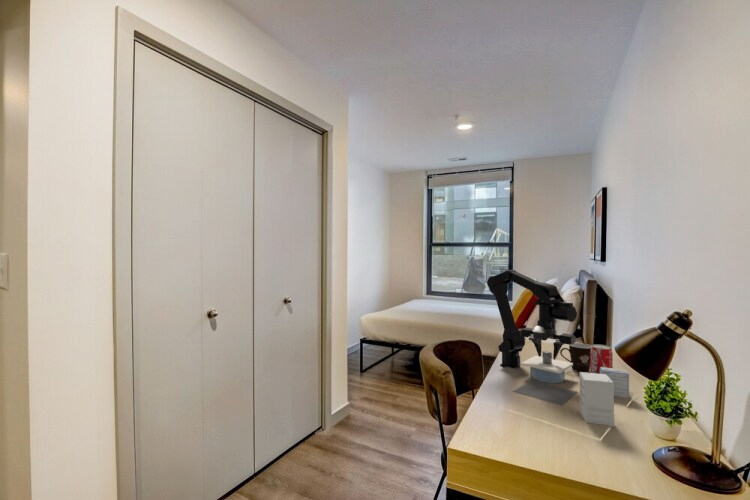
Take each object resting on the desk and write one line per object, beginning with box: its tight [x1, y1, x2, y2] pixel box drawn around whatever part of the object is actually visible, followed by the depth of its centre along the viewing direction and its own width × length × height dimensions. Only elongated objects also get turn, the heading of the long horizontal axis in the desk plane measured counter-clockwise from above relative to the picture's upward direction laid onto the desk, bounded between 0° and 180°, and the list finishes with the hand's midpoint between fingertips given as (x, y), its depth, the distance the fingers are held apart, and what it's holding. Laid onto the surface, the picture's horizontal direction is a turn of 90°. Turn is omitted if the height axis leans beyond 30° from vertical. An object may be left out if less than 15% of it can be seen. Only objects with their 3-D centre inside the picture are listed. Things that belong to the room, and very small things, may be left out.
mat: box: [512, 379, 579, 407], centre depth 125 cm, size 16×16×1 cm
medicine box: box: [600, 367, 630, 399], centre depth 124 cm, size 8×4×9 cm, turn 65°
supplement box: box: [579, 372, 615, 428], centre depth 105 cm, size 7×7×13 cm
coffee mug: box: [559, 342, 592, 373], centre depth 151 cm, size 12×9×10 cm
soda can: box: [589, 343, 614, 374], centre depth 138 cm, size 7×7×13 cm
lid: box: [520, 351, 573, 374], centre depth 139 cm, size 14×14×5 cm
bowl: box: [529, 367, 566, 384], centre depth 139 cm, size 11×11×6 cm
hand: (547, 358), depth 139 cm, fingers open, 5 cm apart
